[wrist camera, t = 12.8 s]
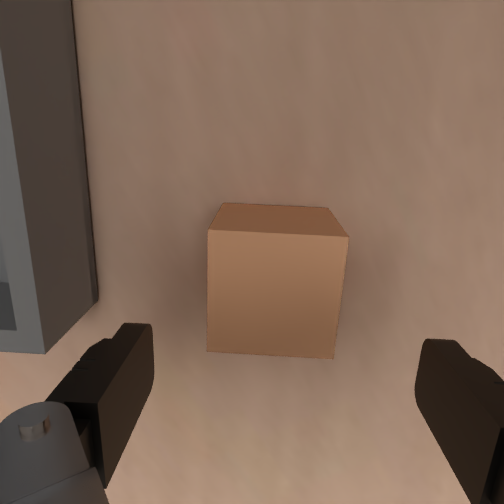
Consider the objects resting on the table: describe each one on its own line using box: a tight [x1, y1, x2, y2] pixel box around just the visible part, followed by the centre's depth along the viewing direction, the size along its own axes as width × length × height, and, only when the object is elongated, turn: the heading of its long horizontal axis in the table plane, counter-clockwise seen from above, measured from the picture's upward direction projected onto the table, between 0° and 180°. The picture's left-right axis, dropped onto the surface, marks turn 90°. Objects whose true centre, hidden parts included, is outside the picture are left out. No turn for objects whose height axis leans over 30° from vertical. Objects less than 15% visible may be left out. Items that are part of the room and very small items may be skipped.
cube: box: [207, 203, 349, 359], centre depth 17 cm, size 5×5×5 cm
